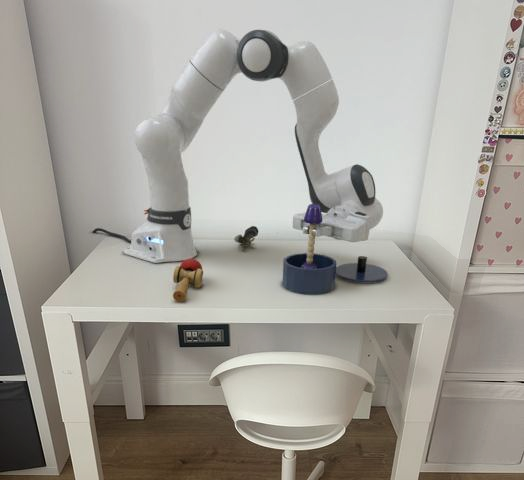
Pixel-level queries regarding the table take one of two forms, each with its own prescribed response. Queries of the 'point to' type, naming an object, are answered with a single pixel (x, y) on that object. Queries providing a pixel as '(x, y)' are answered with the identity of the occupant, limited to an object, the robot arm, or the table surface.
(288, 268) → the pot
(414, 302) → the table surface
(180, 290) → the kendama
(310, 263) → the toy lamp
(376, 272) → the lid
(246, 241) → the eagle figurine
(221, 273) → the table surface
